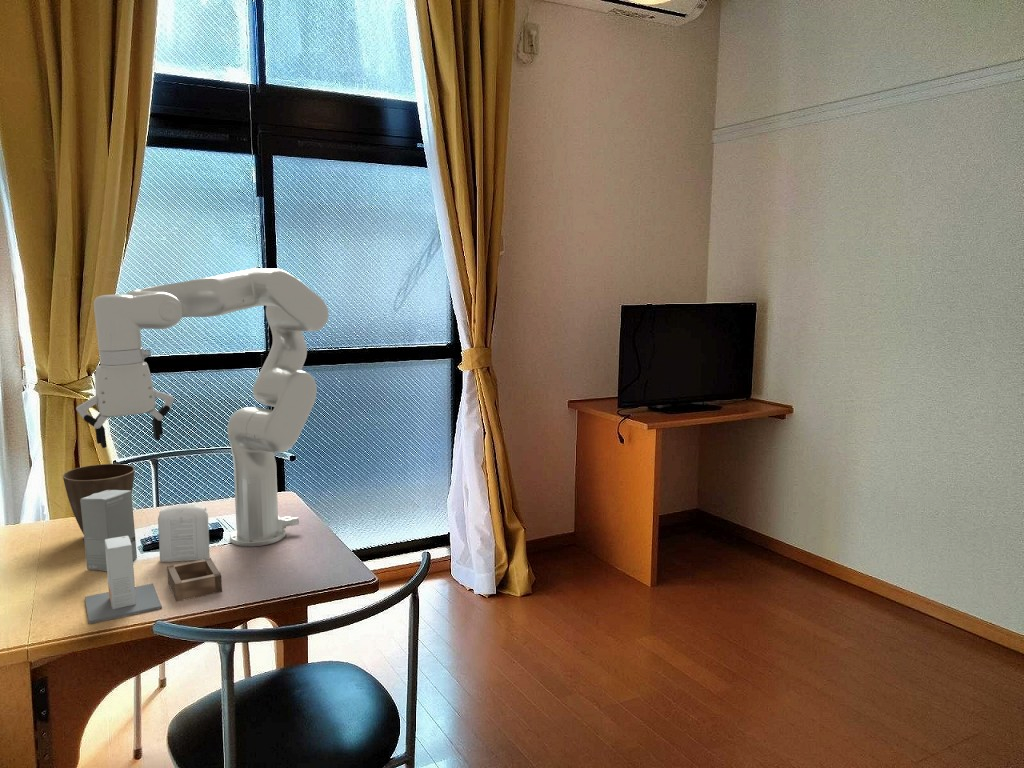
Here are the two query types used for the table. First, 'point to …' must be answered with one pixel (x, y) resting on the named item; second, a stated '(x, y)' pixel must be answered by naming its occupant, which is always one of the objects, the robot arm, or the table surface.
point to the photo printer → (183, 533)
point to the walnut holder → (194, 579)
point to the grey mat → (102, 608)
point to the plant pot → (96, 483)
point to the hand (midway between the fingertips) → (130, 442)
